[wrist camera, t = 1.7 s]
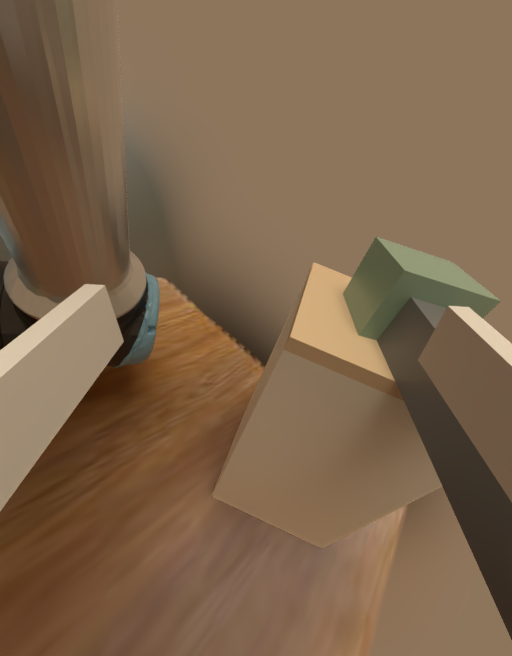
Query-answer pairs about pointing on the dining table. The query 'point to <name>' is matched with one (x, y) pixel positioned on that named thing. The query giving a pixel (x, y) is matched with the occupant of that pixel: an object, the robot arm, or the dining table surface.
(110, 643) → the dining table surface
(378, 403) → the pedestal
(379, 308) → the bar
